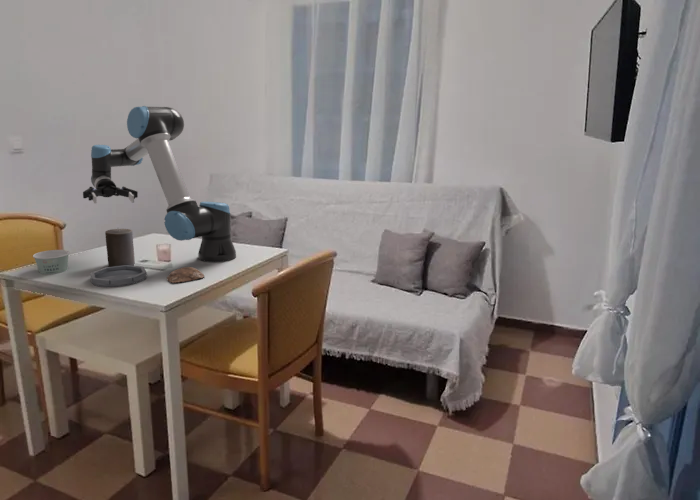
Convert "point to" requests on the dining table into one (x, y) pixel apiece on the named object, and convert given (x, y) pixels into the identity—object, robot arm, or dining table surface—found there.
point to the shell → (185, 275)
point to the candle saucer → (118, 276)
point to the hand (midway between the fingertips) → (114, 199)
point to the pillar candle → (120, 247)
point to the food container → (52, 261)
